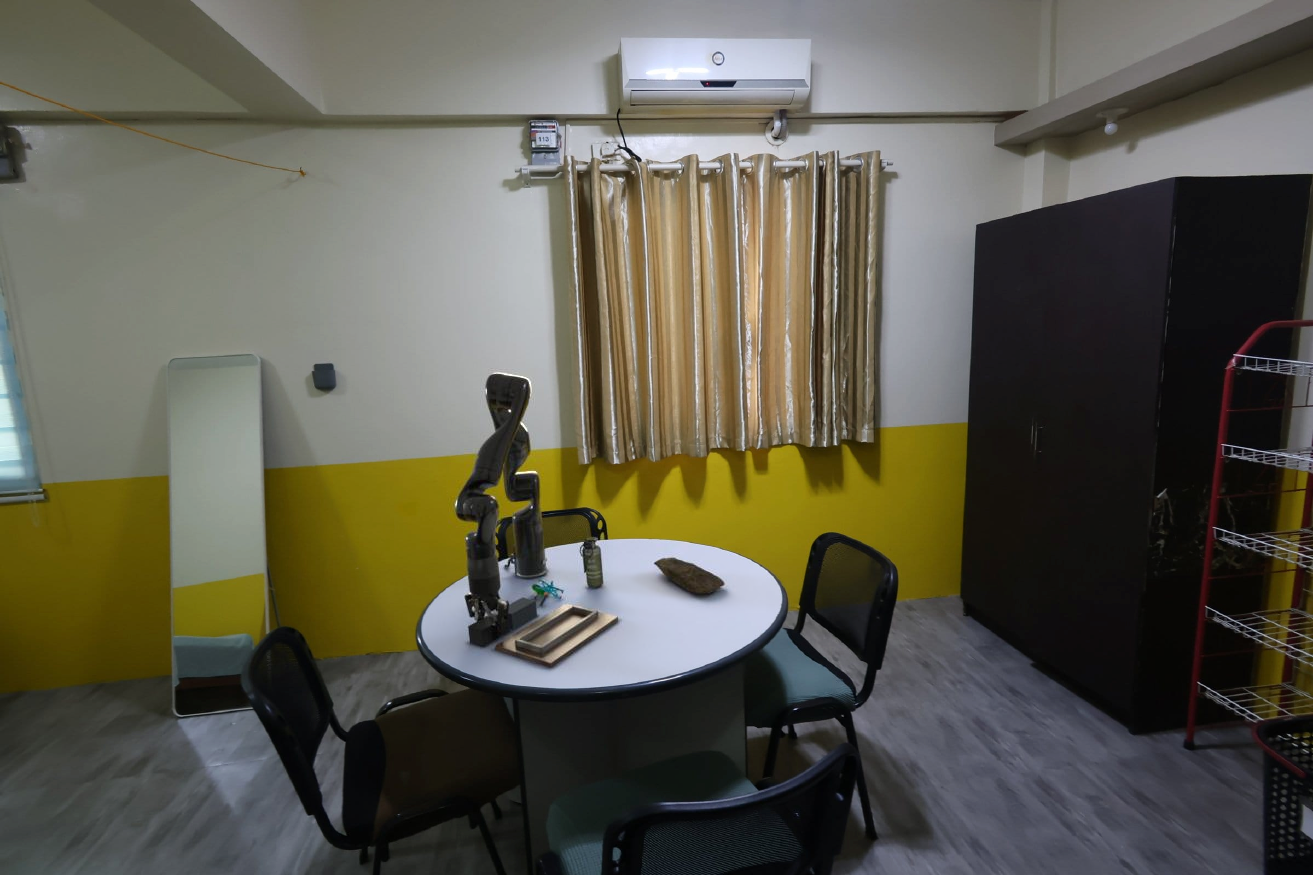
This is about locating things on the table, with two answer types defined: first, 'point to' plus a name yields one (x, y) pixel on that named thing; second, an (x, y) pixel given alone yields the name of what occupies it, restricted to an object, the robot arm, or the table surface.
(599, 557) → the grenade
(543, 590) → the stick construction toy
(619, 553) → the table surface
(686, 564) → the stone
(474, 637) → the pad
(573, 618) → the mount board
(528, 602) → the pad
